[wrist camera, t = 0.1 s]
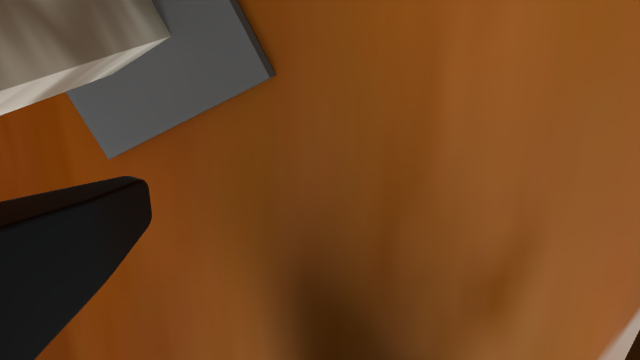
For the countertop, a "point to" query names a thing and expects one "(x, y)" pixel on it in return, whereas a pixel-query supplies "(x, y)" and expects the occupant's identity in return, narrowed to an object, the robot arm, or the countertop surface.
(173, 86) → the rubber mat
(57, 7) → the tall block
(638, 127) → the countertop surface
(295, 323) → the countertop surface
